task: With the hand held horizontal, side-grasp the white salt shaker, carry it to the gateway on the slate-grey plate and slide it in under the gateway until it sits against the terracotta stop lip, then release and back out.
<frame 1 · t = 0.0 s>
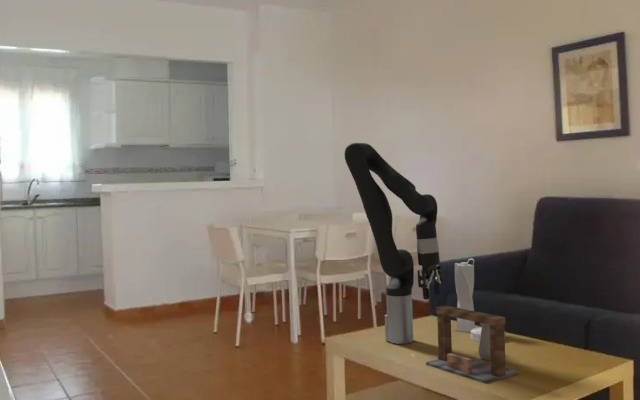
hand: (432, 297, 237), 17 cm above the table, tool pointing down, fingers open, 8 cm apart
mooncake: (487, 339, 245), on the table
gateway: (470, 369, 208), on the table
salt shaker: (487, 358, 219), on the table
skyscraper: (466, 331, 258), on the table
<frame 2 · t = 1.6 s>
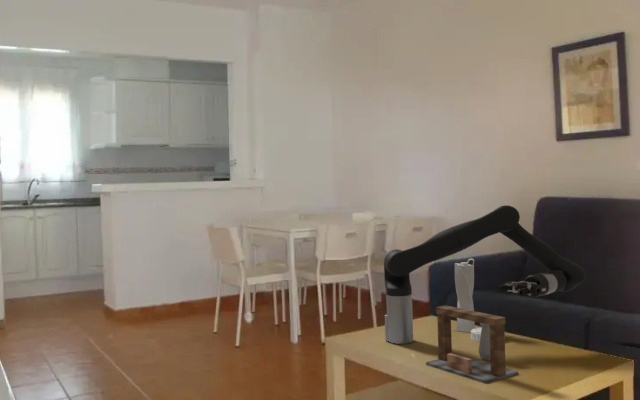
hand: (508, 291, 225), 21 cm above the table, tool horizontal, fingers open, 8 cm apart
nothing on the table moved.
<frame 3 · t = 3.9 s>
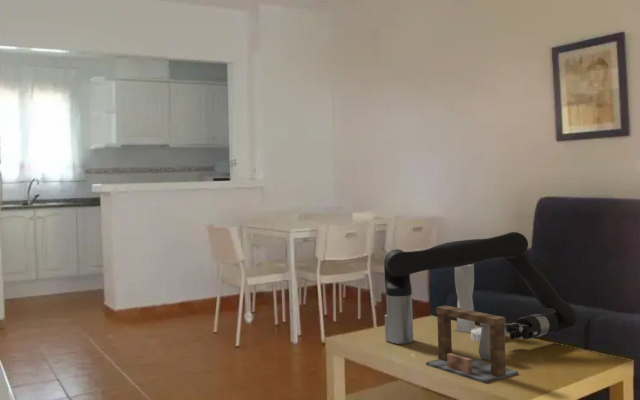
hand: (500, 333, 223), 7 cm above the table, tool horizontal, fingers open, 8 cm apart
nothing on the table moved.
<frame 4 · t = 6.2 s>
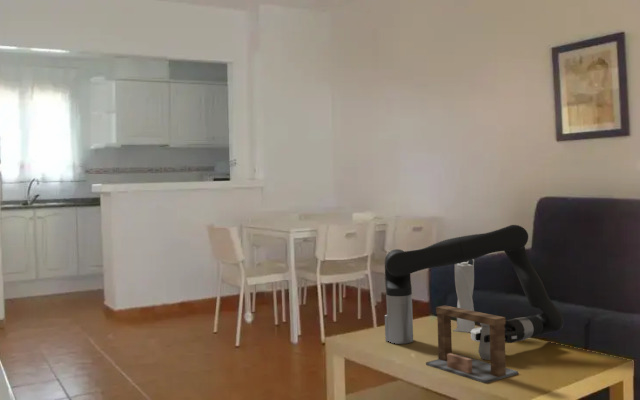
hand: (480, 338, 218), 7 cm above the table, tool horizontal, fingers closed on salt shaker, 3 cm apart
salt shaker: (487, 358, 219), on the table, touching gripper
everything else where it was.
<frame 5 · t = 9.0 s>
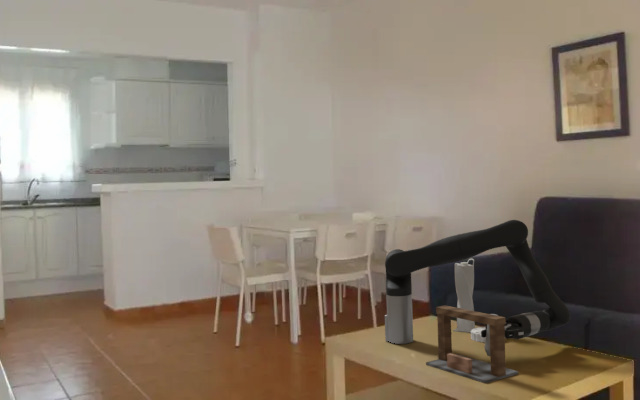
hand: (486, 335, 212), 9 cm above the table, tool horizontal, fingers closed on salt shaker, 3 cm apart
salt shaker: (494, 355, 214), point 2 cm above the table, touching gripper
everything else where it was.
when the fingers open (8 cm above the table, at t = 11.8 s): salt shaker stays where it is, resting on gateway.
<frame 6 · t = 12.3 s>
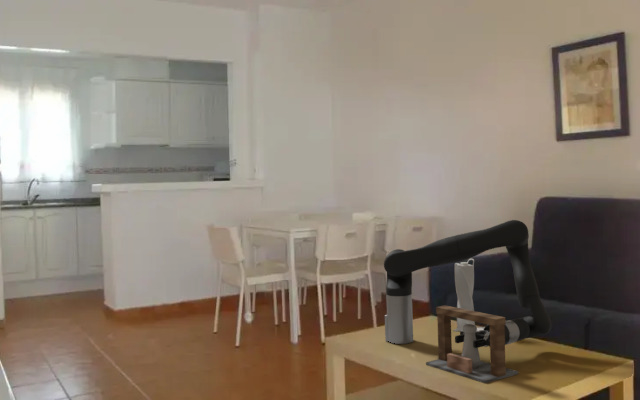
hand: (464, 342, 207), 9 cm above the table, tool horizontal, fingers open, 7 cm apart
salt shaker: (470, 367, 208), point 1 cm above the table, touching gateway
everything else where it was.
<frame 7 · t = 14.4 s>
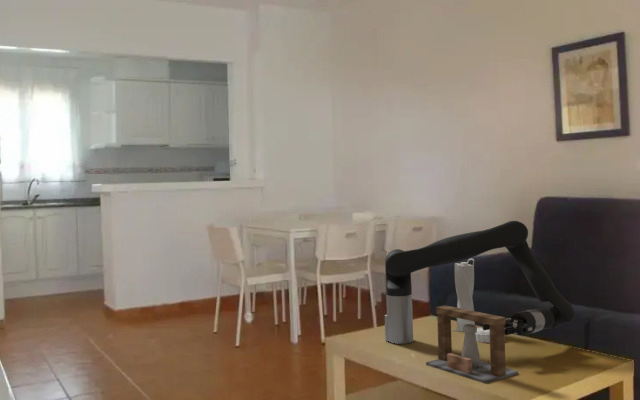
hand: (493, 329, 214), 11 cm above the table, tool horizontal, fingers open, 8 cm apart
nothing on the table moved.
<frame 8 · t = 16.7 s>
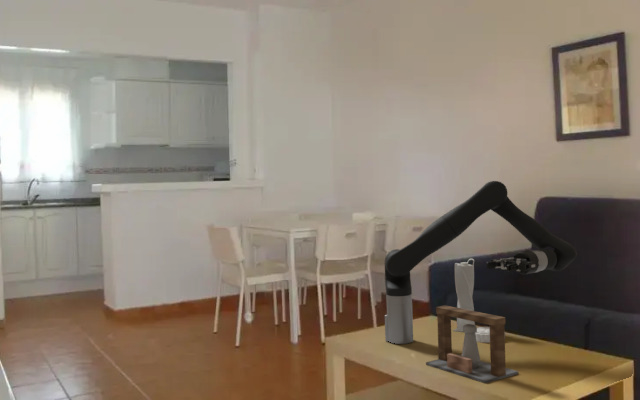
hand: (497, 266, 216), 30 cm above the table, tool horizontal, fingers open, 8 cm apart
nothing on the table moved.
at the end: salt shaker inside the target area on the gateway (0.1 cm from its centre), point 0.6 cm above the gateway's base; salt shaker tilted 0°; the gripper is holding nothing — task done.
